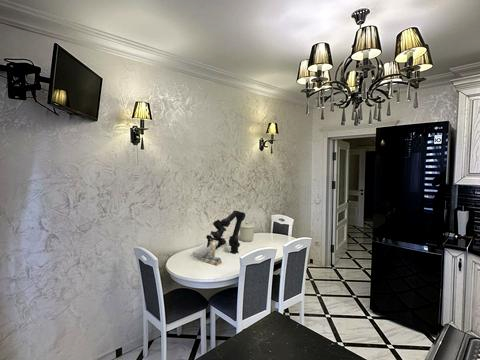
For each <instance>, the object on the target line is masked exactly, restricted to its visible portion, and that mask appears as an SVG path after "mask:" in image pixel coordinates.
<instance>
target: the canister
mask: <svg viewBox="0 0 480 360" xmlns="http://www.w3.org/2000/svg"><path fill="white" fill-rule="evenodd" d="M255 228H256V225H255V224H254V223H250V222H249V221H245V222H242V223H241V226H240V230H239V237H240V240H241V241H242V242H246V243H248V242H251V241H253V240H254V235H255Z"/></svg>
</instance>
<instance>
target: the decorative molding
mask: <svg viewBox="0 0 480 360" xmlns="http://www.w3.org/2000/svg"><path fill="white" fill-rule="evenodd" d="M207 243H208V240H207V241H205V243H203V244H202V245H200V246H199V247H198V248H195V250H193V251H192V254H191V257H195V258H196V257H197V258H204V255H206V254H207V255H208V253H210V245H209V247H207ZM216 246H217V244H216V243H215V247H216Z"/></svg>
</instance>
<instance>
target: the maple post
mask: <svg viewBox="0 0 480 360" xmlns="http://www.w3.org/2000/svg"><path fill="white" fill-rule="evenodd" d="M215 244H216V240H213V241H210V251H209V255H210V257H216V255H215V254H216V252H215V251H216V249H215V248H216V246H215Z"/></svg>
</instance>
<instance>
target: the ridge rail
mask: <svg viewBox="0 0 480 360" xmlns="http://www.w3.org/2000/svg"><path fill="white" fill-rule="evenodd" d="M202 262H203V263H207V264H209V265H213V266H217V267H218V266H220V265H221V264H222V263H223V261H222V259H221V257H217V256H215V257H210V254H208V253H207V254H206V255H204V256H203V257H202Z"/></svg>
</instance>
